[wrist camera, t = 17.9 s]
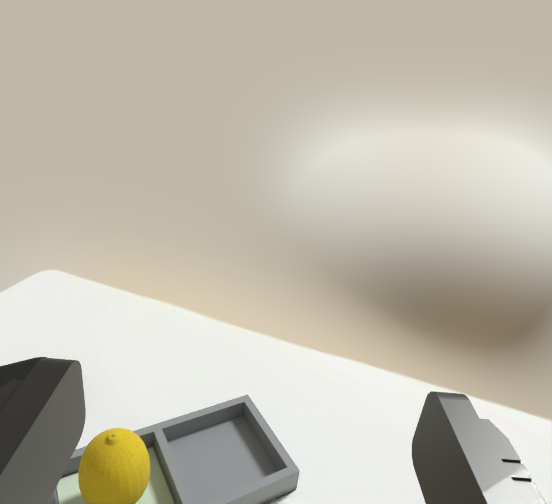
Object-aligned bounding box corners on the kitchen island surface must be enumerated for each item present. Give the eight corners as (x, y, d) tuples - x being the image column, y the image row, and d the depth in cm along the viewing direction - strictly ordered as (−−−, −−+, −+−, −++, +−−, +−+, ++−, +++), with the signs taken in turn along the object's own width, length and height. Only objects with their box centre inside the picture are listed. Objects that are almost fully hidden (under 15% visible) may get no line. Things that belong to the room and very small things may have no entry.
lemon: (120, 548, 35) (116, 478, 32) (67, 516, 37) (57, 446, 33) (164, 491, 40) (164, 425, 36) (114, 465, 41) (110, 400, 38)
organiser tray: (245, 411, 50) (247, 394, 49) (296, 489, 42) (299, 470, 41) (42, 480, 40) (39, 461, 39) (57, 600, 32) (53, 579, 31)
